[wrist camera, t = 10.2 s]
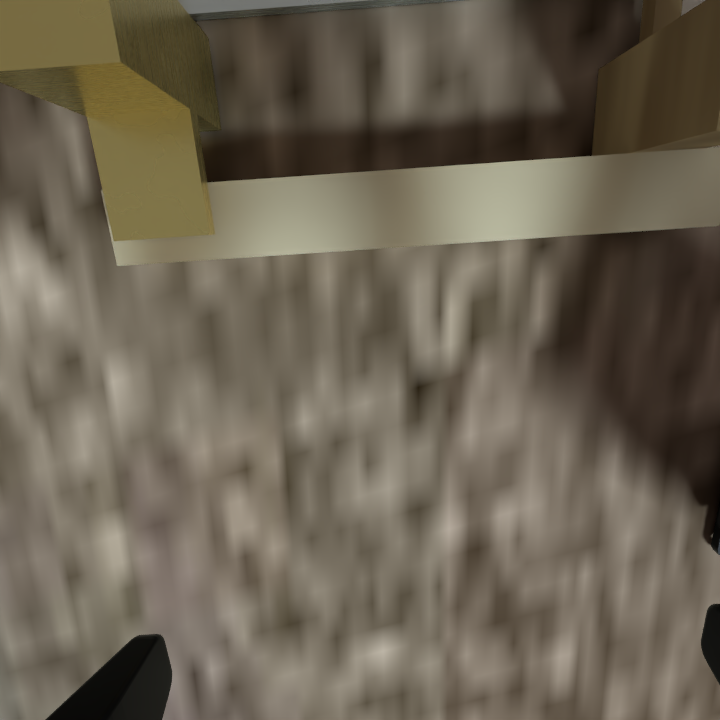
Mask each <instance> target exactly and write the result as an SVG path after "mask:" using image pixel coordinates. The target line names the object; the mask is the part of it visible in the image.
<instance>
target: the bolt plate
mask: <svg viewBox="0 0 720 720" xmlns="http://www.w3.org/2000/svg"><path fill="white" fill-rule="evenodd" d="M178 1H179V3H180V4H181V5H182V6H183V8H184V9H185V10H186V11H187V12H188V14H189V15H190V16H191V17H192V19H193V20H194V21H197V20H210V19H224V18H237V17H250V16H264V15H277V14H290V13H304V12H317V11H330V10H344V9H357V8H370V7H384V6H397V5H410V4H423V3H437V2H450V1H463V0H178Z"/></svg>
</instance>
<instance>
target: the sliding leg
mask: <svg viewBox="0 0 720 720" xmlns="http://www.w3.org/2000/svg"><path fill="white" fill-rule="evenodd" d="M0 82H1V83H3V84H6V85H8V86H11V87H13V88H16V89H18V90H21V91H24V92H26V93H29V94H31V95H34V96H36V97H39V98H41V99H44V100H46V101H49V102H51V103H54V104H57V105H59V106H62V107H64V108H67V109H69V110H72V111H74V112H77V113H79V114H82V115H85V116H87V121H88V125H89V130H90V135H91V139H92V144H93V148H94V153H95V158H96V162H97V167H98V171H99V176H100V181H101V185H102V190H103V194H104V199H105V204H106V208H107V213H108V217H109V222H110V227H111V231H112V236H113V240H114V241H127V240H142V239H157V238H171V237H186V236H201V235H215V229H214V223H213V216H212V210H211V203H210V197H209V190H208V184H207V177H206V171H205V164H204V157H203V151H202V144H201V138H200V132H204V131H218V130H221V125H220V118H219V111H218V104H217V96H216V89H215V82H214V75H213V68H212V61H211V54H210V46H209V39H208V37H207V36H206V35H205V33H204V32H203V31H202V30H201V29H200V27H199V26H198V25H197V24H196V22H195V21H194V20H193V19H192V17H191V16H190V15H189V14H188V12H187V11H186V10H185V9H184V8H183V6H182V5H181V4H180V3H179V1H178V0H0Z"/></svg>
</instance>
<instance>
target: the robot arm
mask: <svg viewBox="0 0 720 720" xmlns="http://www.w3.org/2000/svg"><path fill="white" fill-rule="evenodd" d="M711 546H712V548H713V550H714V551H715V552H716V553H717V554H719V555H720V502H719V507H718V512H717V518H716V523H715V528H714V533H713V538H712V543H711ZM701 648H702V652H703V655H704V657H705V659H706V661H707V663H708V665H709V667H710V668H711V670H712V672H713V674H714V675H715V677H716V679H717V681H718V683H719V684H720V604H713V605H711V606H710V607H709V608H708V610H707V614H706V618H705V623H704V628H703V633H702V638H701ZM171 682H172V669H171V664H170V660H169V656H168V652H167V648H166V644H165V641H164V638H163V637H162V636H161V635H159V634H150V635H139V636H136V637H134V638H133V639H132V640H130V641H129V642H128V643H127V644H126V645H125V646H124V647H123V648H122V649H121V650H120V651H119V652H118V653H116V654H115V655H114V656H113V657H112V658H111V659H110V660H109V661H108V662H107V663H106V664H105V665H104V666H103V667H101V668H100V669H99V670H98V671H97V672H96V673H95V674H94V675H93V676H92V677H91V678H90V679H89V680H87V681H86V682H85V683H84V684H83V685H82V686H81V687H80V688H79V689H78V690H77V691H76V692H75V693H74V694H72V695H71V696H70V697H69V698H68V699H67V700H66V701H65V702H64V703H63V704H62V705H61V706H60V707H58V708H57V709H56V710H55V711H54V712H53V713H52V714H51V715H50V716H49V717H48V718H47V719H46V720H162V718H163V714H164V711H165V707H166V703H167V699H168V696H169V692H170V688H171Z"/></svg>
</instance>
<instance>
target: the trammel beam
mask: <svg viewBox="0 0 720 720" xmlns="http://www.w3.org/2000/svg"><path fill="white" fill-rule="evenodd" d="M682 1H683V0H643V8H642V18H641V28H640V38H639V44H637V45H636V46H634V47H633V48H631V49H629V50H628V51H626V52H625V53H623V54H622V55H620V56H619V57H617V58H615V59H614V60H612V61H611V62H609V63H608V64H606V65H605V66H603V67H601V68H600V69H599V71H598V84H597V96H596V109H595V121H594V134H593V147H592V156H583V157H569V158H554V159H540V160H525V161H511V162H496V163H482V164H467V165H453V166H439V167H424V168H410V169H395V170H381V171H366V172H352V173H337V174H323V175H309V176H294V177H280V178H265V179H251V180H236V181H222V182H207V184H208V190H209V197H210V203H211V210H212V216H213V223H214V229H215V235H201V236H186V237H171V238H157V239H142V240H127V241H114V240H113V236H112V231H111V227H110V222H109V217H108V213H107V208H106V204H105V199H104V194H103V190H101V194H102V198H103V203H104V207H105V212H106V217H107V221H108V226H109V230H110V235H111V239H112V244H113V249H114V253H115V258H116V262H117V266H125V265H140V264H155V263H170V262H185V261H200V260H215V259H230V258H245V257H260V256H275V255H290V254H305V253H320V252H335V251H350V250H365V249H380V248H396V247H411V246H426V245H441V244H456V243H471V242H486V241H501V240H516V239H531V238H546V237H561V236H576V235H591V234H606V233H621V232H636V231H651V230H666V229H682V228H697V227H712V226H719V223H720V147H713V146H718V145H720V0H706V1H704V2H703V3H701V4H700V5H698V6H696V7H695V8H693V9H692V10H690V11H689V12H687V13H686V14H684V15H682V16H681V9H682ZM708 147H713V148H708Z"/></svg>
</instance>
